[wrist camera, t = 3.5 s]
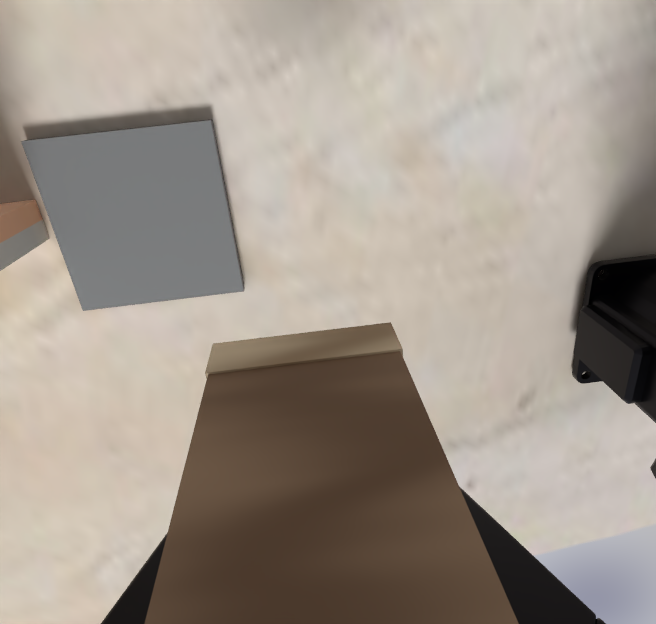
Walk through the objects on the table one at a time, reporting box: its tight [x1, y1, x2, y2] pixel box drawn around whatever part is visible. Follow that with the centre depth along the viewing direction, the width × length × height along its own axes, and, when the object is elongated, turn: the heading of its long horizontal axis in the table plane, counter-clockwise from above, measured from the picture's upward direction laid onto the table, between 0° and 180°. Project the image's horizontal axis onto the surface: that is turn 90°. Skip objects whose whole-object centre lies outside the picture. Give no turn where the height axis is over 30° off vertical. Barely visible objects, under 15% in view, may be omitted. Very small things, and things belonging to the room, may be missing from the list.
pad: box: [21, 120, 244, 311], centre depth 19 cm, size 7×7×1 cm
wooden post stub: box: [145, 323, 519, 624], centre depth 8 cm, size 4×4×9 cm
